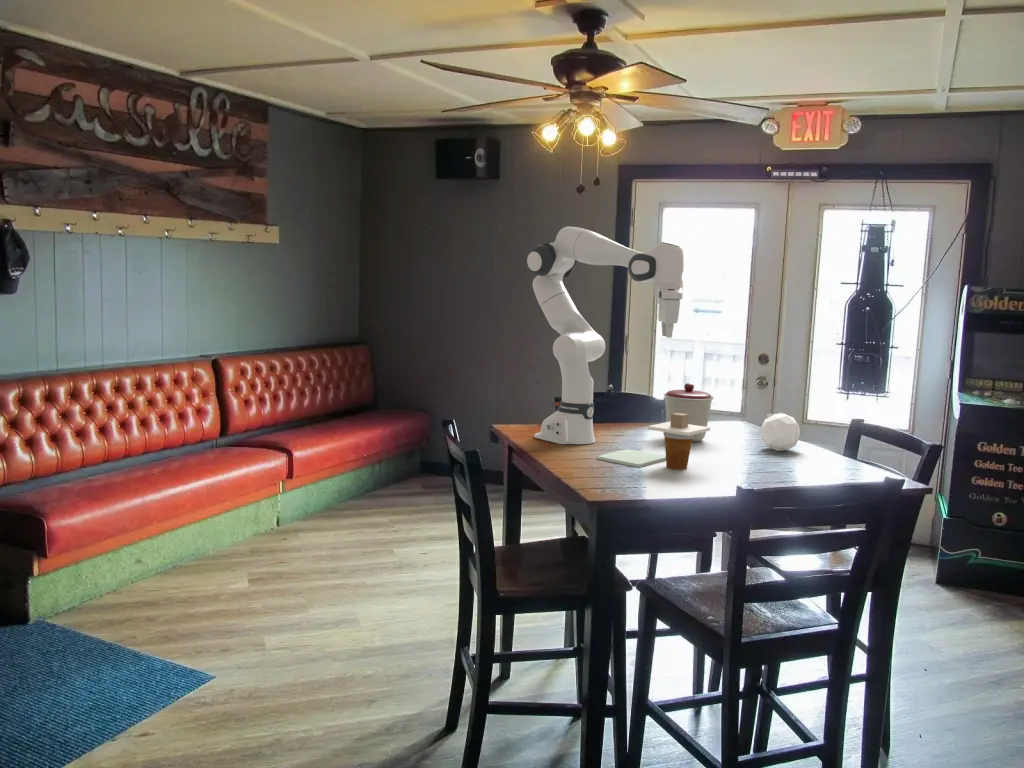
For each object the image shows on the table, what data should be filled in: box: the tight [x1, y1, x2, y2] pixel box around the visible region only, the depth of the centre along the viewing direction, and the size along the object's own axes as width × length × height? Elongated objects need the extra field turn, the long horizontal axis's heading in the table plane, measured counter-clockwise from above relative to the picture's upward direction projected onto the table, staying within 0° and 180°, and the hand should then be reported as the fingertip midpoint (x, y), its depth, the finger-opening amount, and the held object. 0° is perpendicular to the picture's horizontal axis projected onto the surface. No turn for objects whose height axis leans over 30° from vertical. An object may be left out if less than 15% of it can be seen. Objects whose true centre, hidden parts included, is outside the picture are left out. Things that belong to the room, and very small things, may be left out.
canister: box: [663, 382, 714, 443], centre depth 318 cm, size 18×18×21 cm
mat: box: [596, 448, 666, 468], centre depth 281 cm, size 16×18×1 cm
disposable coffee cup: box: [662, 432, 694, 471], centre depth 270 cm, size 10×10×12 cm
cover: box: [647, 413, 711, 436], centre depth 269 cm, size 14×14×5 cm
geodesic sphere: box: [760, 411, 801, 452], centre depth 305 cm, size 14×14×14 cm
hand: (666, 336), depth 276 cm, fingers open, 8 cm apart
